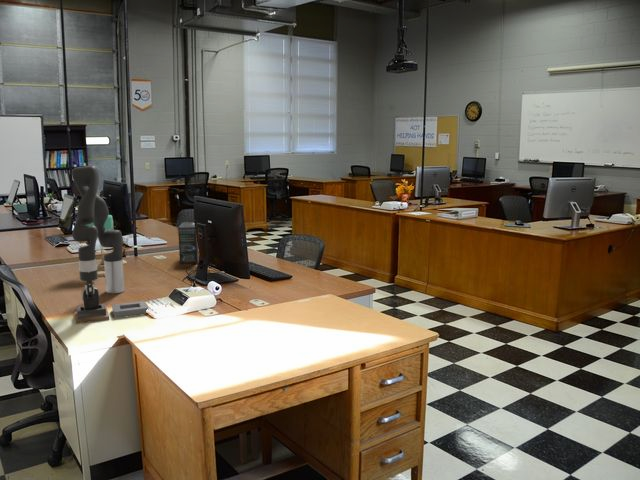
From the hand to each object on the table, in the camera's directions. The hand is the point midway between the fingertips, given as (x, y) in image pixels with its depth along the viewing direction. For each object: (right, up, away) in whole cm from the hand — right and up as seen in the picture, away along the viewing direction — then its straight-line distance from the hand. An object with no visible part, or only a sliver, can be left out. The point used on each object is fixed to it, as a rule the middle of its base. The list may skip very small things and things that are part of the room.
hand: (91, 305), depth 259 cm
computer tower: (+19, +16, +119) cm, 121 cm away
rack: (0, -6, +1) cm, 6 cm away
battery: (0, -3, +1) cm, 4 cm away
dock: (+15, -4, +8) cm, 18 cm away
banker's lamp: (-26, +10, +83) cm, 88 cm away
